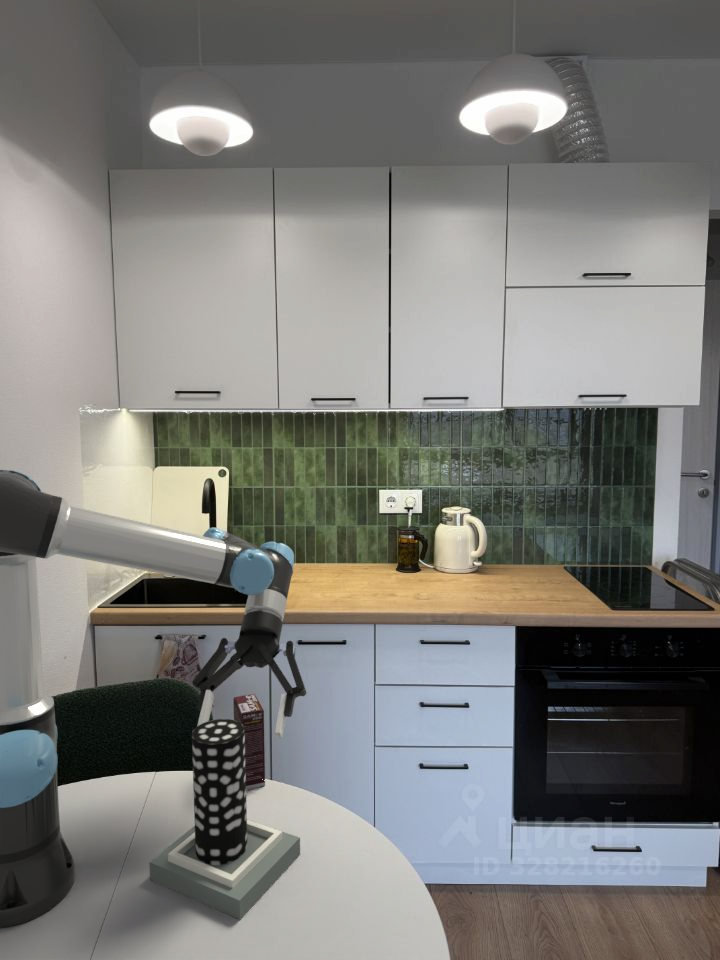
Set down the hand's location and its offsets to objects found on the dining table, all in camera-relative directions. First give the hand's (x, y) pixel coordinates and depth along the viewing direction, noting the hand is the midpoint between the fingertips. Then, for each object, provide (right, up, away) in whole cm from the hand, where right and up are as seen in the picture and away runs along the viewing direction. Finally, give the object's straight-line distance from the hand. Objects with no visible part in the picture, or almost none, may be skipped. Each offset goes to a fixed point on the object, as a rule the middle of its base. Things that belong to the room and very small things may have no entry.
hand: (239, 732), depth 109 cm
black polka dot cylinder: (-2, -18, -3) cm, 18 cm away
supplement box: (-2, -18, +23) cm, 29 cm away
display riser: (-1, -21, -3) cm, 21 cm away
